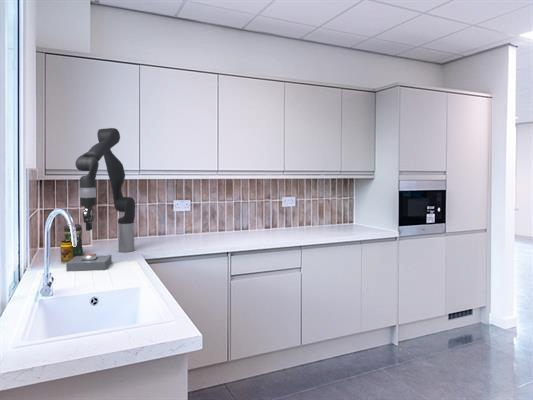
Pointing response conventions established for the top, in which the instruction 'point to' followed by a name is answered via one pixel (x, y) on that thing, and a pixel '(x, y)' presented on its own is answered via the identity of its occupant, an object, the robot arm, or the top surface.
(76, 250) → the green bottle
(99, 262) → the box
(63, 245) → the condiment
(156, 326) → the top surface
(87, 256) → the button
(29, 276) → the top surface
